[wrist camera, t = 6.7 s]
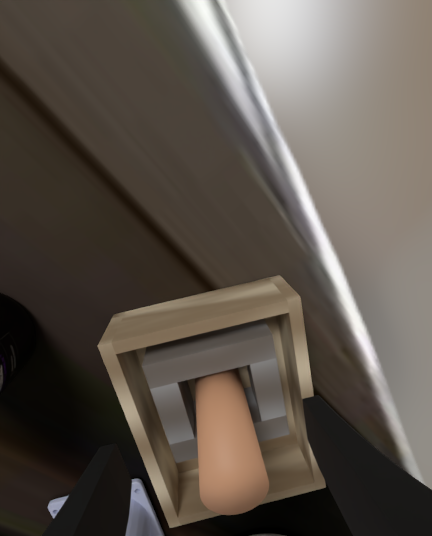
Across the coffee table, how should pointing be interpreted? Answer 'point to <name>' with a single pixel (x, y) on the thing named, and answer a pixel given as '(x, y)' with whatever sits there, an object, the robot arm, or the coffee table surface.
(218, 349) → the box
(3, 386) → the supplement bottle
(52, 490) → the coffee table surface
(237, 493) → the peg
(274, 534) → the flower in vase
